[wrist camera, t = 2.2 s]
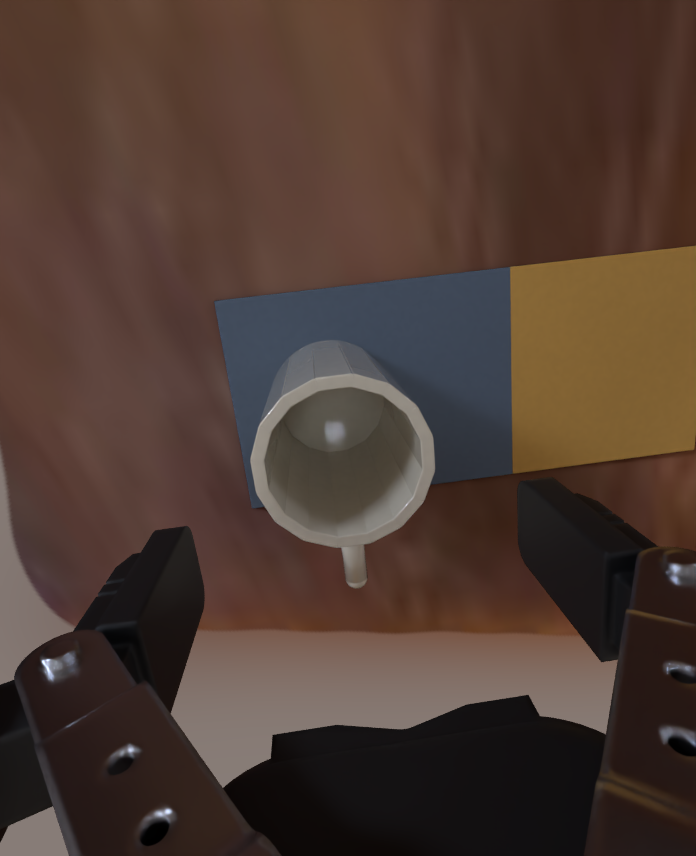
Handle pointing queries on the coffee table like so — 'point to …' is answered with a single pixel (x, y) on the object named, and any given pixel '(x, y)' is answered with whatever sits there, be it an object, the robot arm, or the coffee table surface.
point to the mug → (341, 451)
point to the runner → (501, 358)
